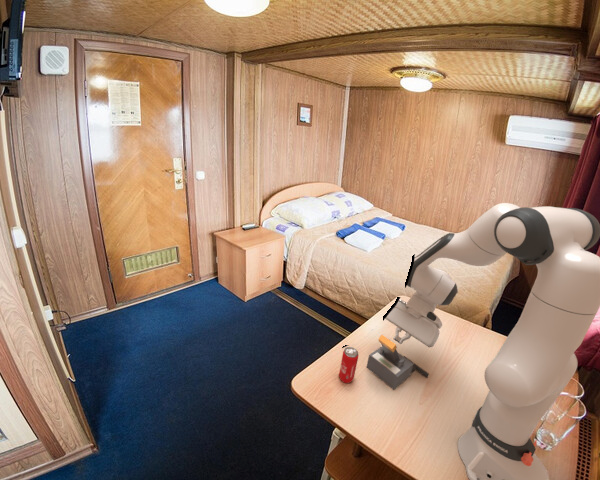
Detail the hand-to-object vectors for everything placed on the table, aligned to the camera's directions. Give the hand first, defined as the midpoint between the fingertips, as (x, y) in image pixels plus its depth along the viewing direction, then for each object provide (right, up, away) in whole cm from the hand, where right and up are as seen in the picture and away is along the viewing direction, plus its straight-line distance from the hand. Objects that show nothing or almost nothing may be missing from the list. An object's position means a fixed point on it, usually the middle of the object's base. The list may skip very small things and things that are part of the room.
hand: (397, 341), depth 106 cm
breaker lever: (-1, -6, +2) cm, 6 cm away
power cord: (+7, -12, +6) cm, 16 cm away
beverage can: (-18, -13, 0) cm, 22 cm away
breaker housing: (-2, -12, +4) cm, 13 cm away
